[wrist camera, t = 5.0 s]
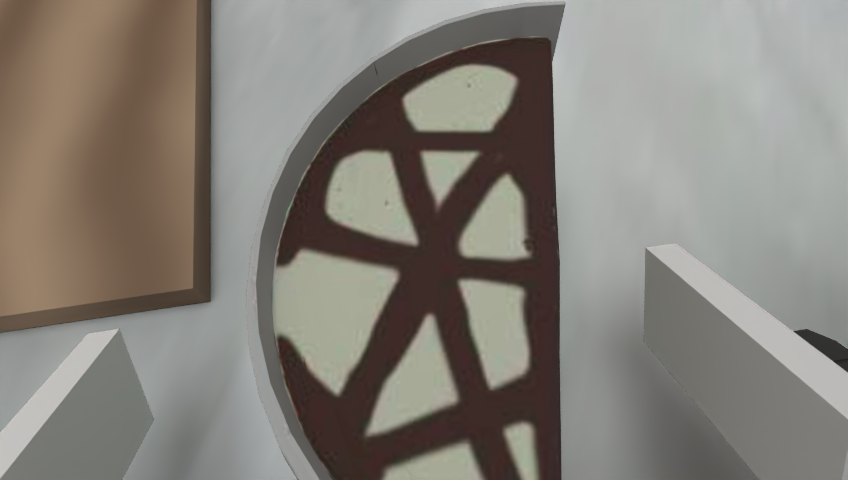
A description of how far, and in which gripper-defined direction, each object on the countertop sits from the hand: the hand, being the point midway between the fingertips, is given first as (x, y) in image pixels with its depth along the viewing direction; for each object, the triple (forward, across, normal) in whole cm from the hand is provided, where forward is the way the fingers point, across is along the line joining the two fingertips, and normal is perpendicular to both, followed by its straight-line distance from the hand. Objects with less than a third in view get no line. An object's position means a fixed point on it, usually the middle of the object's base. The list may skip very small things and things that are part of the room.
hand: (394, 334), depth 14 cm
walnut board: (+12, -14, +5) cm, 19 cm away
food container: (+4, 0, -3) cm, 5 cm away
